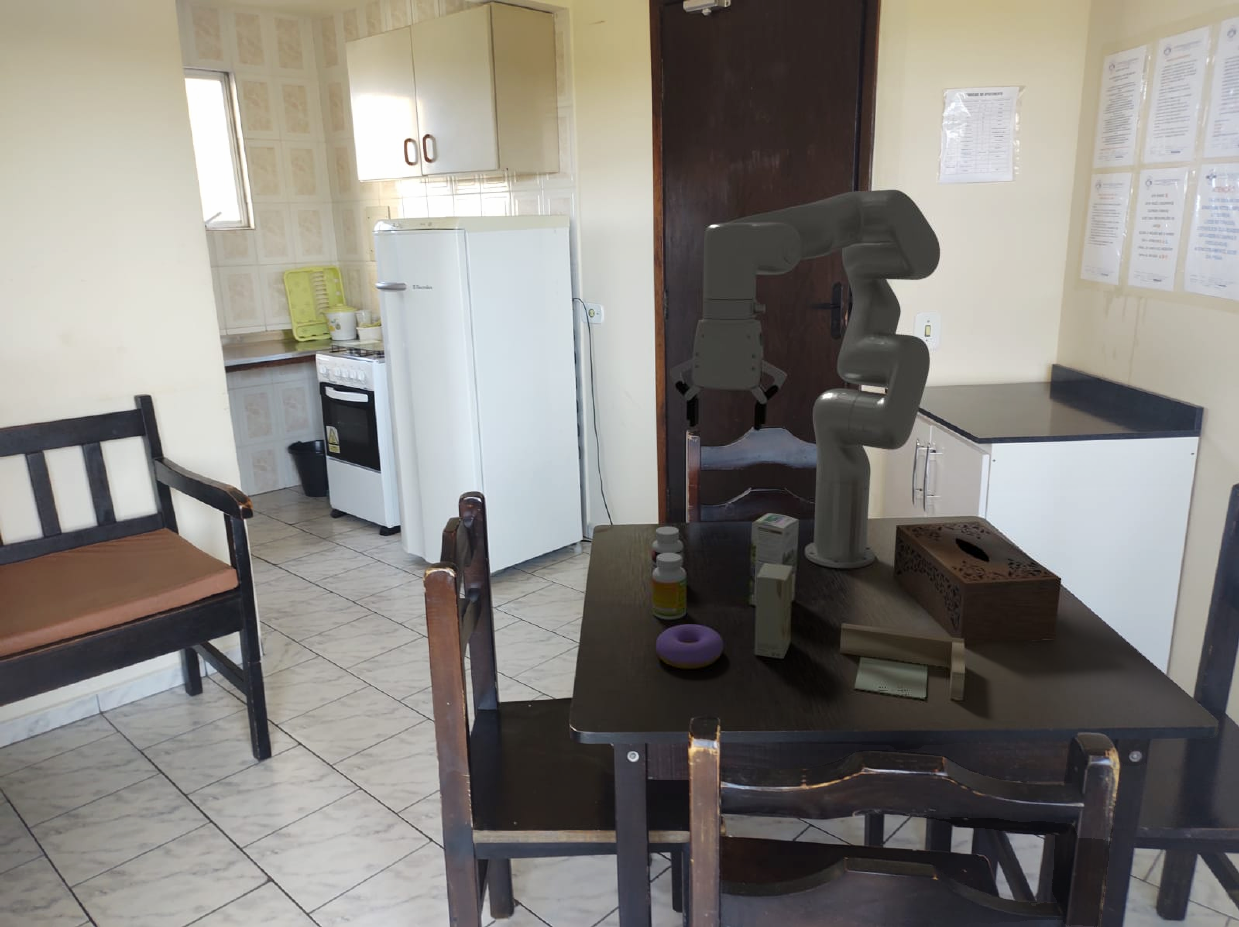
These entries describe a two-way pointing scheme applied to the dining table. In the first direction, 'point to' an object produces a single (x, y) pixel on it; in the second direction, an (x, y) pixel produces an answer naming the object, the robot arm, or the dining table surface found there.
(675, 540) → the pill bottle
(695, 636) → the donut
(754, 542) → the syrup box
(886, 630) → the corner arena
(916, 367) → the robot arm
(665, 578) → the supplement bottle
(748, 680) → the dining table surface
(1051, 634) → the tissue box cover
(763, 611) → the skincare box
